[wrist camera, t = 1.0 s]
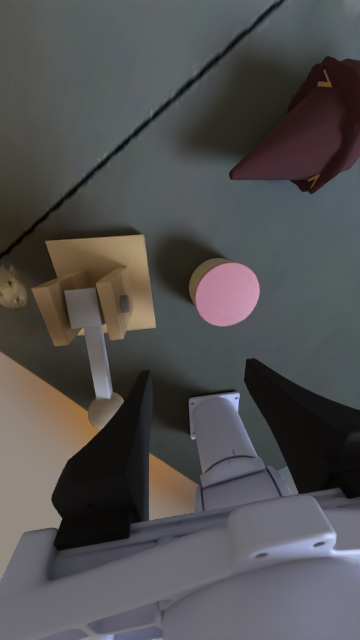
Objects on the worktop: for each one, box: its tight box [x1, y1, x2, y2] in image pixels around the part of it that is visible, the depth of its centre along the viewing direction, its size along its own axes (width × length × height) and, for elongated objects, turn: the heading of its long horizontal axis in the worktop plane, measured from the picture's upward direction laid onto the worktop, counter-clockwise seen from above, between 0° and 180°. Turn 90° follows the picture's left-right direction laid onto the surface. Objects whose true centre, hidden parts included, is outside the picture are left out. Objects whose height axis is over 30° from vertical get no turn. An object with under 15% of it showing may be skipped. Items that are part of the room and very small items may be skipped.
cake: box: [189, 258, 259, 326], centre depth 20 cm, size 6×6×4 cm
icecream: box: [229, 56, 360, 194], centre depth 14 cm, size 7×7×15 cm
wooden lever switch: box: [31, 235, 156, 346], centre depth 16 cm, size 10×9×8 cm
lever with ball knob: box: [64, 288, 124, 430], centre depth 15 cm, size 12×3×3 cm, turn 4°
